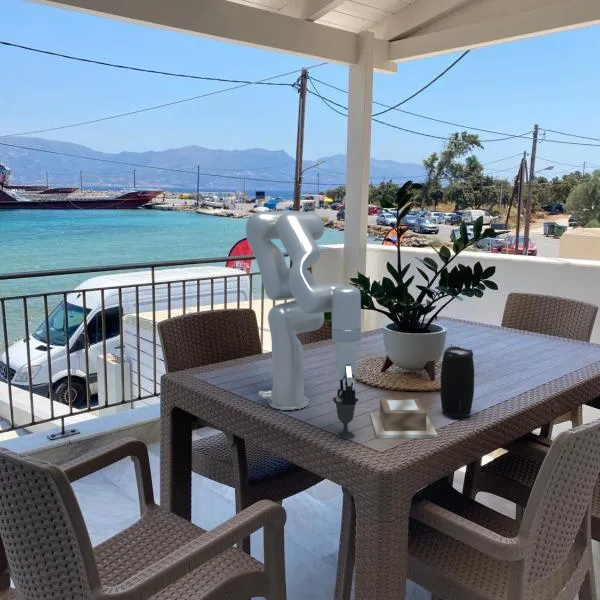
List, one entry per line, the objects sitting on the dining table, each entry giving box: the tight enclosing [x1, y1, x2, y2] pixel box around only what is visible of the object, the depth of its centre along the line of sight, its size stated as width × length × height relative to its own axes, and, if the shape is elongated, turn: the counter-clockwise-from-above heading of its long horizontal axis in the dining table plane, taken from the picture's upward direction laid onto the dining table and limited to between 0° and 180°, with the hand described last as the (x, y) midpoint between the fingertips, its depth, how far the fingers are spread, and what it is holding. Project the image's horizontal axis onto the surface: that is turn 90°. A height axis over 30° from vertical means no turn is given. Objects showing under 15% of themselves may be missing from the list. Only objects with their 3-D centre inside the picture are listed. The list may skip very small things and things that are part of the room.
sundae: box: [332, 388, 360, 440], centre depth 151 cm, size 7×7×15 cm
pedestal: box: [369, 398, 439, 439], centre depth 157 cm, size 16×16×6 cm
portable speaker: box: [440, 345, 475, 421], centre depth 164 cm, size 9×9×20 cm
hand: (347, 398), depth 150 cm, fingers open, 9 cm apart
